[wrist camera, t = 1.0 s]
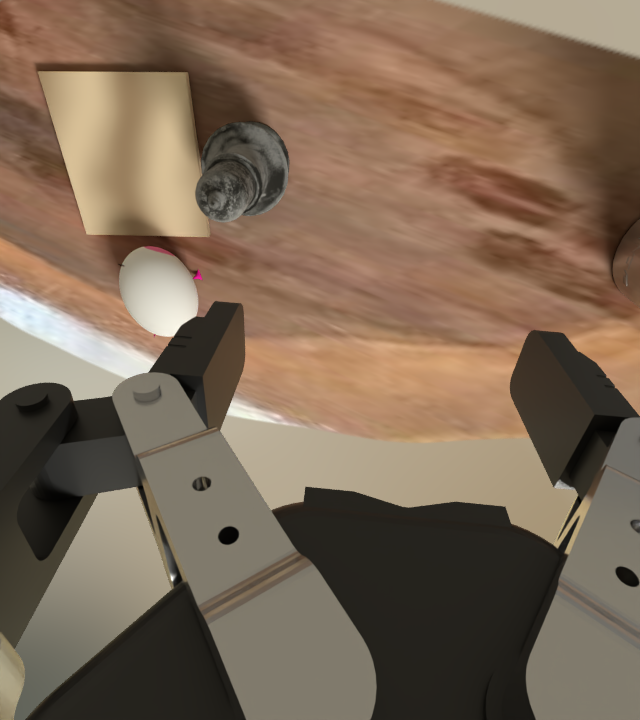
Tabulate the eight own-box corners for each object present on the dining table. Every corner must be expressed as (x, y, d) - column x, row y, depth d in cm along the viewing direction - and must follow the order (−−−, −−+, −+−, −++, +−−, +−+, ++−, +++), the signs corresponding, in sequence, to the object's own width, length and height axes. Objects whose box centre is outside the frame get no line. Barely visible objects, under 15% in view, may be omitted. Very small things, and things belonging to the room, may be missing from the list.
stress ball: (148, 231, 39) (78, 258, 35) (203, 231, 34) (128, 263, 30) (179, 307, 42) (120, 340, 38) (232, 317, 38) (170, 356, 34)
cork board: (188, 72, 29) (185, 72, 28) (210, 234, 35) (208, 237, 35) (42, 71, 29) (37, 71, 29) (90, 232, 35) (86, 234, 35)
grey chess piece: (201, 131, 31) (133, 161, 21) (278, 105, 30) (245, 124, 20) (232, 211, 34) (186, 271, 24) (303, 191, 33) (285, 245, 23)
